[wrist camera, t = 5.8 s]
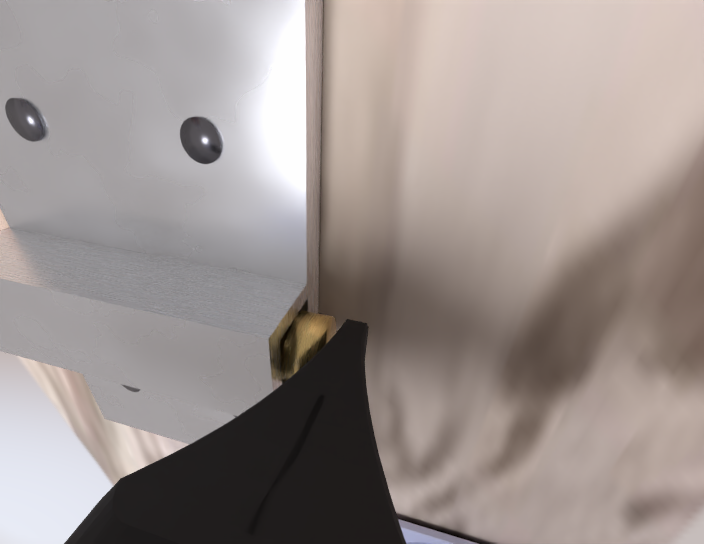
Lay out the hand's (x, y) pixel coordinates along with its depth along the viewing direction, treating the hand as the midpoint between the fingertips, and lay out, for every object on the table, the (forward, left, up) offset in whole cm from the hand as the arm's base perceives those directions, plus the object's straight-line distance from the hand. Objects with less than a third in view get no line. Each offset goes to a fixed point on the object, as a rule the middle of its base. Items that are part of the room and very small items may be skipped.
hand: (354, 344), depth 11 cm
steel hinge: (0, +8, -2) cm, 8 cm away
